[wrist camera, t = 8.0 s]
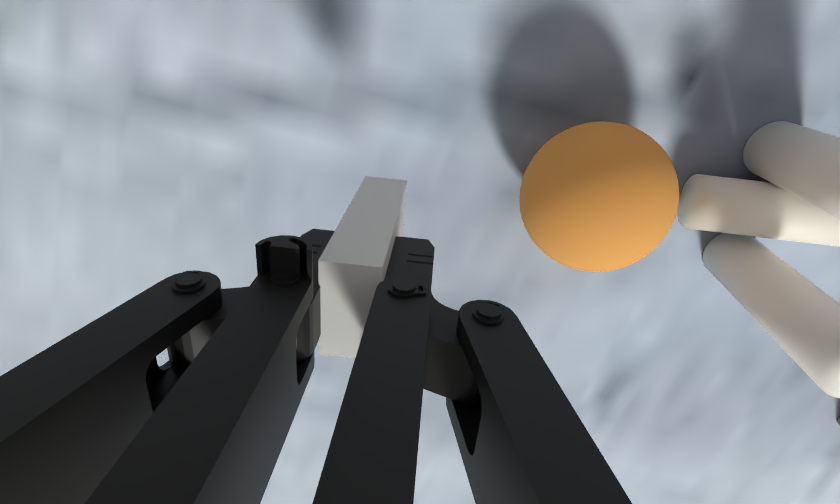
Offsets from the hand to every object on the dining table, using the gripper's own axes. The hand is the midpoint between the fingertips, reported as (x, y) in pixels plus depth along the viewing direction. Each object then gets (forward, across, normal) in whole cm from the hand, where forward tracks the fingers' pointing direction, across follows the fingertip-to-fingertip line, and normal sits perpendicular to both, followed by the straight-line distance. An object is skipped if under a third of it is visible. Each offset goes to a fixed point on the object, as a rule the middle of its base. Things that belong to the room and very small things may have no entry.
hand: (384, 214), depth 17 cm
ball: (+3, +8, +1) cm, 9 cm away
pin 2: (+6, +16, -2) cm, 17 cm away
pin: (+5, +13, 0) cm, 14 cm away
